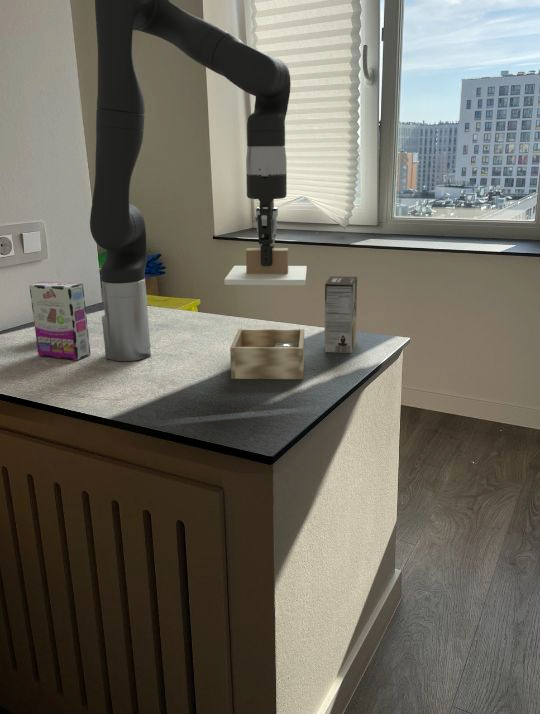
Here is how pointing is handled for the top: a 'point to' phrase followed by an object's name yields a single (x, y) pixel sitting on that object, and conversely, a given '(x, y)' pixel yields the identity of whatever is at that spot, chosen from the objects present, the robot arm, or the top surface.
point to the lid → (266, 270)
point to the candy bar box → (60, 320)
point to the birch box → (267, 354)
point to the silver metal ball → (284, 344)
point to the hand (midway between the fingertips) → (267, 263)
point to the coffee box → (340, 314)
